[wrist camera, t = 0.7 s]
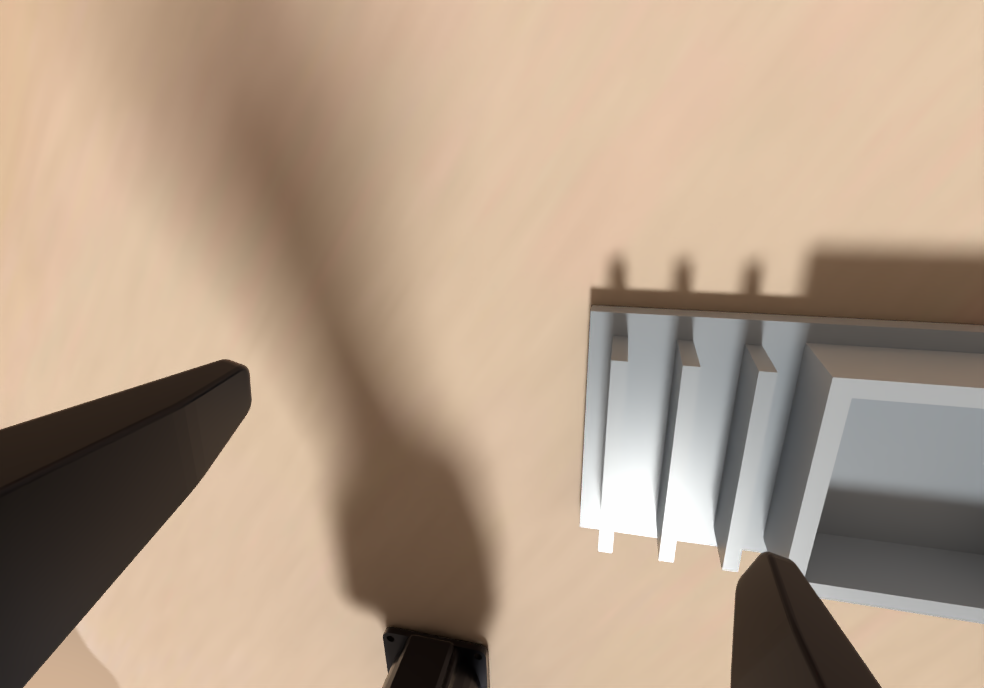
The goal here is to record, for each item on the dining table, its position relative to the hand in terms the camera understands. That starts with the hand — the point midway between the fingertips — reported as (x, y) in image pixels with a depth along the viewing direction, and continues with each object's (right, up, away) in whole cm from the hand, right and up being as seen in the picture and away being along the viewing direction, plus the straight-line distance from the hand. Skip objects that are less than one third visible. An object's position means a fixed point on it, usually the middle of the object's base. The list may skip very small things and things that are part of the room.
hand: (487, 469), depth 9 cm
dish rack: (+13, -2, +13) cm, 19 cm away
